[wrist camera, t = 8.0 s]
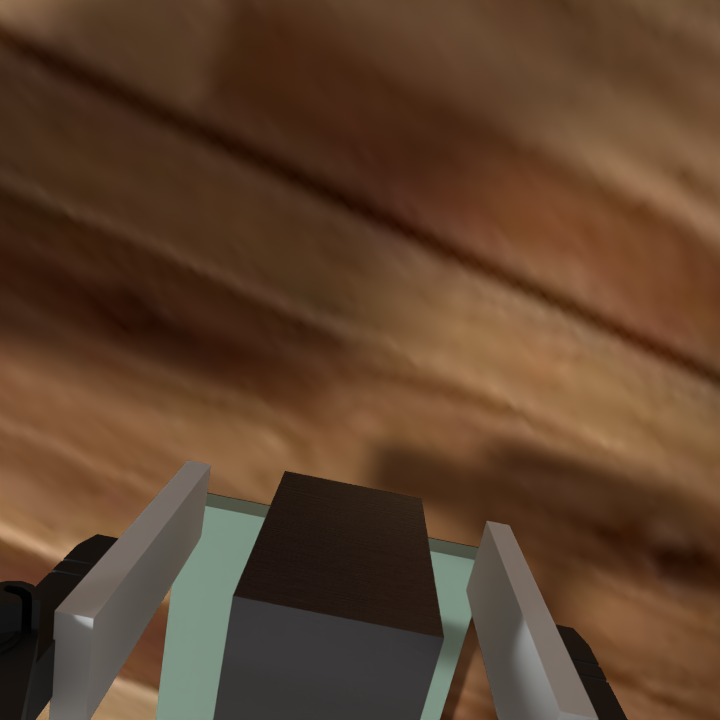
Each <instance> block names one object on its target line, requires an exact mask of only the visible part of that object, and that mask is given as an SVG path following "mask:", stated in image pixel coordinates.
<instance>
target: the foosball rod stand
mask: <svg viewBox="0 0 720 720" xmlns="http://www.w3.org/2000/svg"><path fill="white" fill-rule="evenodd" d="M443 641H444V633H443V627H442V621H441V615H440V609H439V602H438V596H437V590H436V584H435V578H434V572H433V566H432V560H431V554H430V547H429V541H428V535H427V529H426V523H425V517H424V511H423V505H422V499H421V498H416V497H411V496H406V495H401V494H396V493H392V492H387V491H382V490H377V489H372V488H367V487H362V486H357V485H352V484H347V483H342V482H337V481H332V480H327V479H322V478H317V477H312V476H307V475H302V474H298V473H293V472H288V471H285V472H284V474H283V477H282V479H281V482H280V484H279V486H278V489H277V491H276V494H275V496H274V498H273V501H272V503H271V505H270V508H269V510H268V513H267V515H266V517H265V520H264V522H263V525H262V527H261V529H260V532H259V534H258V537H257V539H256V541H255V544H254V546H253V549H252V551H251V553H250V556H249V558H248V561H247V563H246V565H245V568H244V570H243V573H242V575H241V577H240V580H239V582H238V584H237V587H236V589H235V592H234V594H233V597H232V604H231V610H230V616H229V623H228V629H227V635H226V642H225V648H224V654H223V660H222V667H221V673H220V679H219V686H218V692H217V698H216V704H215V711H214V717H213V720H420V719H421V716H422V712H423V709H424V706H425V702H426V699H427V695H428V692H429V689H430V685H431V682H432V678H433V675H434V672H435V668H436V665H437V661H438V658H439V655H440V651H441V648H442V644H443Z"/></svg>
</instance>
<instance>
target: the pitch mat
mask: <svg viewBox="0 0 720 720" xmlns="http://www.w3.org/2000/svg"><path fill="white" fill-rule="evenodd" d="M269 508H270V506H268V505H263V504H258V503H253V502H248V501H243V500H238V499H233V498H228V497H223V496H218V495H213V494H208V493H207V497H206V505H205V512H204V520H203V527H202V534H201V538H200V540H199V541H198V543H197V545H196V546H195V548H194V550H193V551H192V553H191V555H190V556H189V558H188V560H187V561H186V563H185V564H184V566H183V568H182V569H181V571H180V573H179V574H178V576H177V578H176V579H175V581H174V582H173V584H172V590H171V598H170V606H169V614H168V623H167V631H166V639H165V647H164V655H163V664H162V672H161V680H160V688H159V697H158V705H157V713H156V720H213V717H214V711H215V704H216V698H217V692H218V686H219V679H220V673H221V667H222V660H223V654H224V648H225V642H226V635H227V629H228V623H229V616H230V610H231V604H232V597H233V594H234V592H235V589H236V587H237V584H238V582H239V580H240V577H241V575H242V573H243V570H244V568H245V565H246V563H247V561H248V558H249V556H250V553H251V551H252V549H253V546H254V544H255V541H256V539H257V537H258V534H259V532H260V529H261V527H262V525H263V522H264V520H265V517H266V515H267V513H268V510H269ZM428 541H429V547H430V554H431V560H432V566H433V572H434V578H435V584H436V590H437V596H438V602H439V609H440V615H441V621H442V627H443V633H444V641H443V644H442V648H441V651H440V655H439V658H438V661H437V665H436V668H435V672H434V675H433V678H432V682H431V685H430V689H429V692H428V695H427V699H426V702H425V706H424V709H423V712H422V716H421V719H420V720H440V717H441V714H442V711H443V707H444V704H445V701H446V698H447V694H448V691H449V688H450V684H451V681H452V678H453V675H454V671H455V668H456V665H457V662H458V658H459V655H460V652H461V649H462V645H463V642H464V639H465V636H466V632H467V629H468V626H469V623H470V619H471V616H472V613H471V609H470V605H469V601H468V597H467V593H466V588H467V585H468V582H469V578H470V575H471V572H472V568H473V565H474V562H475V558H476V555H477V552H478V548H476V547H471V546H466V545H461V544H456V543H451V542H446V541H441V540H436V539H432V538H428Z"/></svg>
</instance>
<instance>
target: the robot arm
mask: <svg viewBox="0 0 720 720" xmlns="http://www.w3.org/2000/svg"><path fill="white" fill-rule="evenodd" d="M210 468H211V465H209V464H204V463H199V462H194V461H189V460H188V461H187V462H186V463H185V464H184V465H183V467H182V468H181V469H180V470H179V471H178V472H177V473H176V474H175V476H174V477H173V478H172V479H171V480H170V481H169V482H168V483H167V485H166V486H165V487H164V488H163V489H162V490H161V491H160V493H159V494H158V495H157V496H156V497H155V498H154V499H153V500H152V502H151V503H150V504H149V505H148V506H147V507H146V508H145V509H144V511H143V512H142V513H141V514H140V515H139V516H138V517H137V519H136V520H135V521H134V522H133V523H132V524H131V525H130V526H129V528H128V529H127V530H126V531H125V532H124V533H123V534H122V535H121V537H120V538H114V537H109V536H104V535H99V534H97V535H95V536H93V537H91V538H89V539H87V540H86V541H84V542H82V543H80V544H78V545H77V546H76V547H75V548H74V549H73V550H72V551H71V552H70V553H69V554H68V555H67V556H66V557H65V558H64V560H63V561H61V562H60V563H59V564H58V565H57V566H56V567H55V568H54V569H53V570H52V572H51V573H49V574H48V575H47V576H46V577H45V578H44V579H43V580H42V581H41V582H40V583H39V584H38V585H37V586H36V587H35V586H34V585H33V584H29V583H26V582H23V581H5V582H0V720H36V718H37V717H38V716H39V714H40V713H41V712H42V710H43V709H44V707H45V706H46V705H47V703H48V702H49V700H50V711H49V720H90V719H91V717H92V716H93V714H94V712H95V711H96V709H97V707H98V706H99V704H100V702H101V701H102V699H103V697H104V696H105V694H106V693H107V691H108V689H109V688H110V686H111V684H112V683H113V681H114V679H115V678H116V676H117V674H118V673H119V671H120V670H121V668H122V666H123V665H124V663H125V661H126V660H127V658H128V656H129V655H130V653H131V651H132V650H133V648H134V647H135V645H136V643H137V642H138V640H139V638H140V637H141V635H142V633H143V632H144V630H145V628H146V627H147V625H148V624H149V622H150V620H151V619H152V617H153V615H154V614H155V612H156V610H157V609H158V607H159V605H160V604H161V602H162V601H163V599H164V597H165V596H166V594H167V592H168V591H169V589H170V587H171V586H172V584H173V582H174V581H175V579H176V578H177V576H178V574H179V573H180V571H181V569H182V568H183V566H184V564H185V563H186V561H187V560H188V558H189V556H190V555H191V553H192V551H193V550H194V548H195V546H196V545H197V543H198V541H199V540H200V538H201V534H202V527H203V520H204V512H205V505H206V497H207V490H208V483H209V475H210ZM466 593H467V597H468V601H469V605H470V609H471V613H472V617H473V621H474V625H475V629H476V633H477V637H478V641H479V645H480V649H481V653H482V657H483V661H484V665H485V669H486V673H487V677H488V681H489V685H490V689H491V693H492V697H493V701H494V705H495V709H496V713H497V717H498V720H627V718H626V716H625V714H624V712H623V710H622V708H621V706H620V704H619V702H618V700H617V698H616V696H615V695H614V693H613V691H612V689H611V687H610V685H609V683H607V682H606V677H605V675H604V673H603V672H602V670H601V668H600V667H598V662H597V660H596V658H595V656H594V654H593V652H592V650H591V648H590V647H589V645H588V644H587V643H586V642H585V641H584V640H583V638H582V637H581V636H580V635H579V634H578V633H577V632H576V631H575V630H574V629H573V628H570V627H565V626H560V625H555V623H554V621H553V619H552V617H551V615H550V612H549V610H548V608H547V606H546V604H545V602H544V599H543V597H542V595H541V593H540V591H539V589H538V586H537V584H536V582H535V580H534V578H533V575H532V573H531V571H530V569H529V567H528V565H527V562H526V560H525V558H524V556H523V554H522V552H521V549H520V547H519V545H518V543H517V541H516V539H515V536H514V534H513V532H512V530H511V528H510V525H506V524H501V523H496V522H491V521H486V525H485V528H484V531H483V535H482V538H481V541H480V545H479V548H478V552H477V555H476V558H475V562H474V565H473V568H472V572H471V575H470V578H469V582H468V585H467V588H466Z"/></svg>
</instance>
